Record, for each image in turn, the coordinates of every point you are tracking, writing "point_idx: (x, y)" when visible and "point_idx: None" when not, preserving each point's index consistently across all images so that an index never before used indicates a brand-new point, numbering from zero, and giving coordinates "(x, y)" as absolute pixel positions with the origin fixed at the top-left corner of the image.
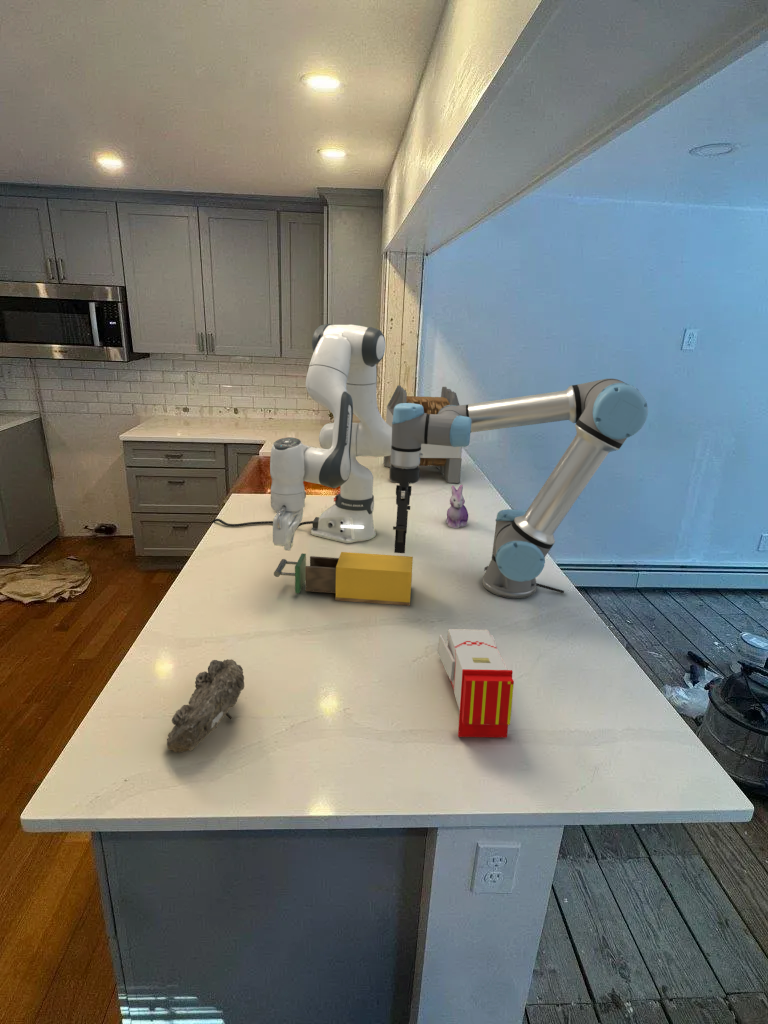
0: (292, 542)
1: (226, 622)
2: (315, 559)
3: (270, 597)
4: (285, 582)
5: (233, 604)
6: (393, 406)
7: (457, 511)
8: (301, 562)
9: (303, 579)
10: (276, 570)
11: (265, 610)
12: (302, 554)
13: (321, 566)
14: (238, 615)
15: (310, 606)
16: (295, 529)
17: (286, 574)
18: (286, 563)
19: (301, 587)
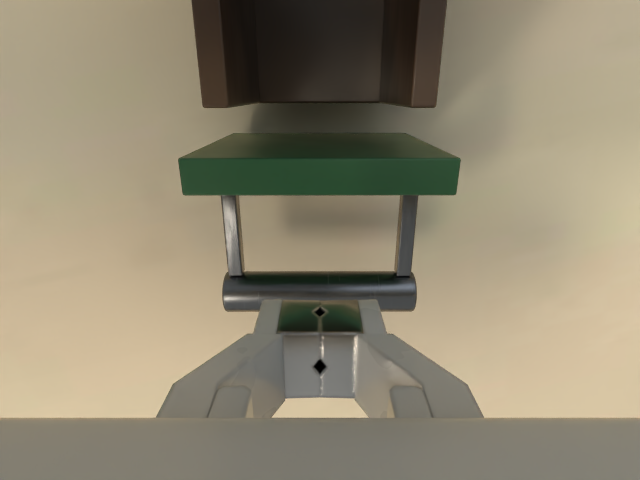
0: (280, 324)
1: (616, 362)
2: (228, 51)
3: (417, 262)
4: (262, 232)
5: (480, 375)
6: None
7: None
8: (367, 158)
9: (298, 136)
10: (403, 305)
11: (534, 254)
12: (203, 183)
13: (237, 1)
14: (567, 339)
15: (504, 49)
16: (270, 451)
17: (413, 236)
18: (244, 271)
19: (356, 134)
